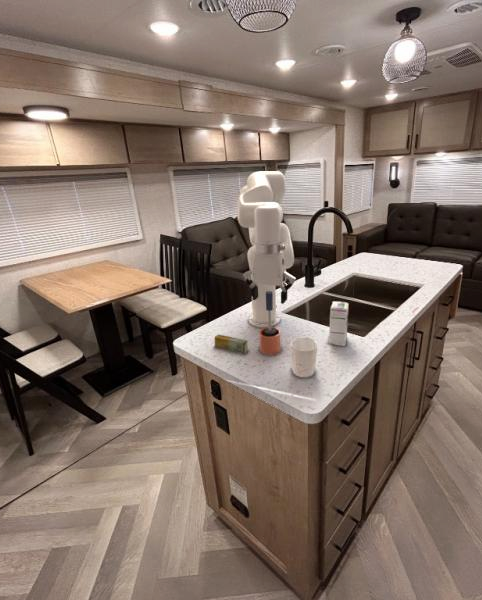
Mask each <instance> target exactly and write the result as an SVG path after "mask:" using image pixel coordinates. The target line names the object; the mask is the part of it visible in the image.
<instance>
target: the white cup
mask: <svg viewBox="0 0 482 600" xmlns="http://www.w3.org/2000/svg"><path fill="white" fill-rule="evenodd" d="M318 346H319V345H318V341H317V340H315V339H313V338H312V337H307V336H299V337H296V338H294V339H293V340H291V342H290V352H291V353H290V355H291V365H292V366H291V367H292V369H291V371H292V372H293V375H295V376H297V377H300V378H308V377H311V376H313V375H314V374H315V369H316V364H317V354H318Z"/></svg>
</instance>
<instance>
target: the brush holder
mask: <svg viewBox="0 0 482 600" xmlns="http://www.w3.org/2000/svg"><path fill="white" fill-rule="evenodd" d="M266 329H269V327H262V328H261V329H260V330H259V333H258V334H259V351H260V352H261V353H262V354H264V355H269V356H271V355H276V354H278V353H279V352H281V351H282V336H281V335H282V331H281V330H280V329H279V328H278V327H275V326H271V329H274V330H275V336H273V337H267V336H265V330H266Z"/></svg>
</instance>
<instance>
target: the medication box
mask: <svg viewBox="0 0 482 600" xmlns="http://www.w3.org/2000/svg"><path fill="white" fill-rule="evenodd" d="M248 346H249V341H248V340H246V339H242V338H237V337H232V336H228V335H223V334H216V335H215V336H214V348H219V349H222V350H227V351H230V352H235V353H239V354H246V353H247V352H248V351H249V350H248Z"/></svg>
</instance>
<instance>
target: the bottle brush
mask: <svg viewBox="0 0 482 600" xmlns="http://www.w3.org/2000/svg"><path fill="white" fill-rule="evenodd" d="M266 310H268V318H269V329H266V330H265V336H267V337H273V336H275V330H274V329H271V327H272V326H271V310H273V292H272V291H267V292H266Z"/></svg>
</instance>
